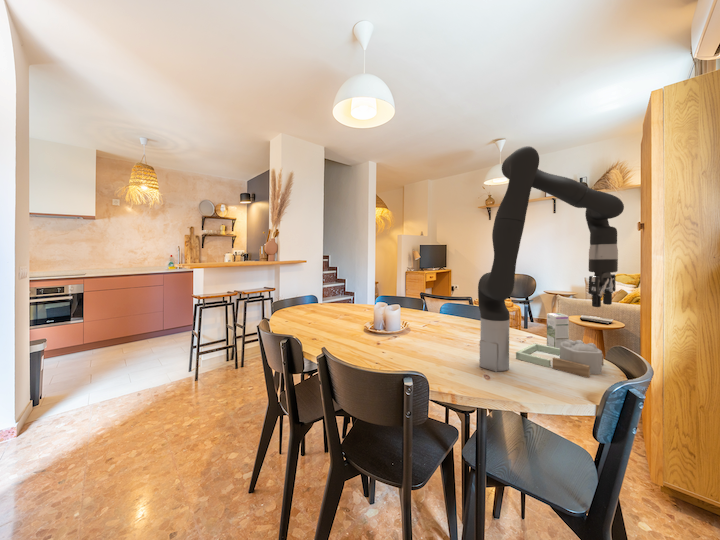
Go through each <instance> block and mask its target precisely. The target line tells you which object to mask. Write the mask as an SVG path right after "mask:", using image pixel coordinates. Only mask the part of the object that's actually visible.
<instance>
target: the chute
mask: <svg viewBox="0 0 720 540" xmlns="http://www.w3.org/2000/svg"><path fill="white" fill-rule="evenodd" d="M551 361H552V362H551V365H552V367H551V368H552V369H553V368H554V370H557V369H558V370H557V371H562V372H565V373H569V374H573V375H576V376H580V377H584V378H589V377H590V375H591V374H590V366H589V365H584V364H580V363H576V362H572V361H567V360H563V359H560V357H559V358H558V357H552V359H551ZM603 365H604V354H603V353H602V366H603Z"/></svg>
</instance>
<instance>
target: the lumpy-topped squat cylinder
mask: <svg viewBox="0 0 720 540" xmlns="http://www.w3.org/2000/svg"><path fill="white" fill-rule="evenodd" d="M602 354H603V351H602V350H601V349H599V348H598V347H597V345H596V344H595V343H593V342H588V343H585V342H583V341H582V340H581V339H576V340H572V339H569V340H567V341H565V342H562V343H561V344H560V356H559V359H563V360H567V361H572V362H576V363H580V364H584V365H589V366H590V375H595V376H596V375H602V373H603V371H602V369H603V368H602V367H603V365H602Z"/></svg>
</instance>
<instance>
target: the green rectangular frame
mask: <svg viewBox="0 0 720 540" xmlns="http://www.w3.org/2000/svg"><path fill="white" fill-rule="evenodd" d="M537 351H539V352H543V353H547V354H551V355H555V354H556V355H555V356H559V355H560V349H559V348H555V347H550V346H547V345H545V344H540V343H533V344H531V345H528V346H526V347H524V348H523V349H520V350H517V351H516V352H515V359H516V360H520V361H524V362H527V363H530V364H535V365H539V366H542V365H543V366H542V367H546V368H550V366H551V365H552V362H551V361H552V359H548V358H545V357H541V356H537V355H532V354H533V353H534V352H537Z"/></svg>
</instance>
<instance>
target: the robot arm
mask: <svg viewBox="0 0 720 540" xmlns="http://www.w3.org/2000/svg"><path fill="white" fill-rule="evenodd" d="M539 165H540V156H539V152H538V150H537V149H536V148H534V147H532V146H530V145H528V146H522V147H519V148H518V149H516V150H514V151H513V152H512V153H511V154H510V155H509V156H507V158H505V159H504V161H503V162H502V164H501V173H502V175H503V176H504V177H505V178H506V179H508V184H507V189H506V191H505V194H504V196H503V198H502V200H501V202H500V204H499V206H498V208H497V211H496V213H495V217H494V222H493V227H492V233H491V237H492V247H493V261H492V266H491V270H490V272H486V273H484V274H483V275H481V276H480V278H479V280H478V284H477V298H478V299H477V300H478V302H477V303H478V310H479V311H480V312H479V313H480V334H479V335H480V336H479V337H480V339H479V367H481V368H483V369H486V370H490V371H493V372H495V373H497V372H504V371H508V370H509V369H510V310H509V309H508V308H507V305H506V299H508V298H509V297H510V296H511V295H512V294H513V291H514V288H515V281H516V280H515V279H516V278H515V276H516V268H517V267H516V266H517V260H518V255H519V250H520V246H521V241H522V237H523V232H524V227H525V224H526V216H527V211H528V207H529V201H530V195H531V191H532V188H534V189H535V190H539V191H541V192H543V193H545V194H548V195H550V196H552V197H554V198H557V199H558V200H560V201H562V202H564V203H566V204H568V205H570V206H571V207H574V208H578V209H585V212H584V213H585V221H586V224H587V229H588V230H589V249H588V272H590V273H594V274H593V275H589V277H588V291H587V292H588V294H589V295H591V306H592V307H593V308H601V307H602V303H603V305H608V306H610V305H612V304H613V302H612V301H613V294H614V292H616V274H611V273H617V272H618V270H619V269H618V268H619V267H618V265H619V262H618V261H619V250H618V230H617V227H615V226H610V222H609V219H614V218H617V217H619V216H620V215H621V214H622V213H624V208H625V206H624V205H625V204H624V203H623V201H622V200H621V199H620V198H619V197H617V196H615V195H613V194H611V193H608V192H604V191H601V190H597V189H592V188H590V187H589V186H587V185H585V184H584V183H581V182H579V181H577V180H574V179H573V178H569V177H566V176H562V175H557V174H552V173H549V172H546V171H543V170H541V169H539ZM602 295H603V296H602Z"/></svg>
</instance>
